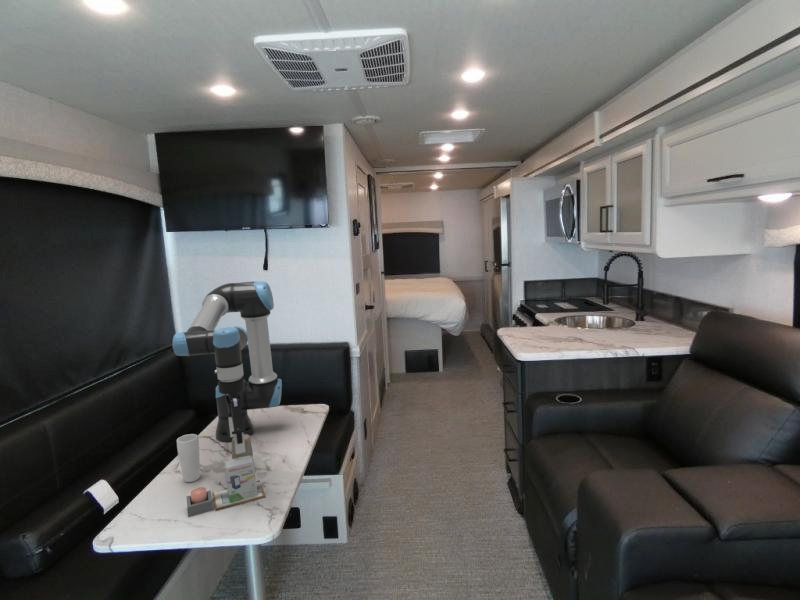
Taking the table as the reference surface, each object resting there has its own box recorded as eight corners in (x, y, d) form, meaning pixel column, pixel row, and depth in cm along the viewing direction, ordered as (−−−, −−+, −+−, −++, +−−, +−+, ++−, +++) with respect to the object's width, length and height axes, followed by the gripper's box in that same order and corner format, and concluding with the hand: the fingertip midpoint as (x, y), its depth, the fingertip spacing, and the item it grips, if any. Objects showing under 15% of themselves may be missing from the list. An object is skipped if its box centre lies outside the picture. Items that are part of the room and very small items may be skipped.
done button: (191, 501, 145) (190, 489, 145) (206, 497, 147) (205, 485, 146) (192, 508, 141) (190, 496, 141) (207, 504, 143) (206, 492, 142)
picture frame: (212, 494, 152) (212, 490, 152) (259, 481, 158) (259, 478, 158) (215, 511, 142) (215, 507, 142) (265, 497, 148) (265, 493, 148)
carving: (258, 465, 170) (255, 433, 168) (243, 475, 163) (239, 442, 162) (244, 462, 173) (241, 431, 171) (229, 472, 166) (225, 440, 164)
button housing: (187, 505, 146) (186, 496, 145) (211, 499, 149) (210, 490, 148) (188, 516, 140) (187, 507, 139) (213, 510, 143) (212, 500, 142)
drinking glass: (206, 475, 164) (202, 434, 162) (192, 485, 158) (187, 443, 156) (191, 473, 167) (186, 432, 165) (176, 482, 160) (171, 441, 158)
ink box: (255, 488, 153) (251, 454, 151) (258, 495, 148) (254, 460, 146) (227, 495, 149) (223, 460, 147) (229, 503, 144) (225, 467, 143)
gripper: (214, 370, 153) (220, 432, 156) (221, 392, 131) (229, 463, 134) (238, 366, 156) (244, 427, 159) (249, 387, 134) (256, 457, 137)
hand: (237, 444), depth 147 cm, fingers open, 13 cm apart
